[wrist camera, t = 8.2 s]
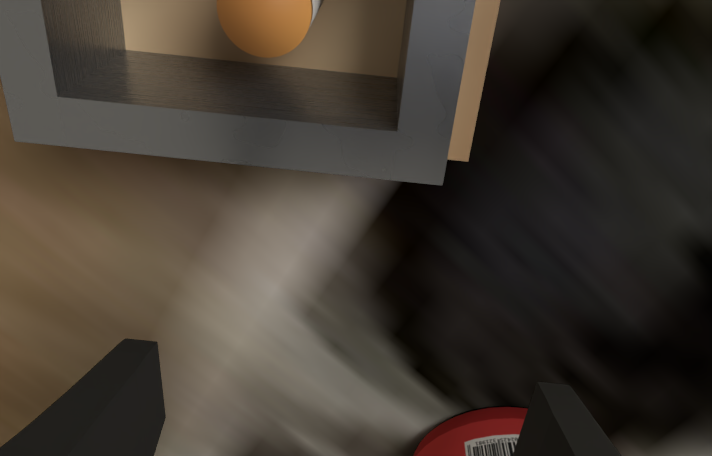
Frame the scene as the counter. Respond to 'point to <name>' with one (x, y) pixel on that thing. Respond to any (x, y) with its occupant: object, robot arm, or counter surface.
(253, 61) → the board
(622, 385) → the counter surface
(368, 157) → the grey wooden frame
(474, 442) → the canned food
